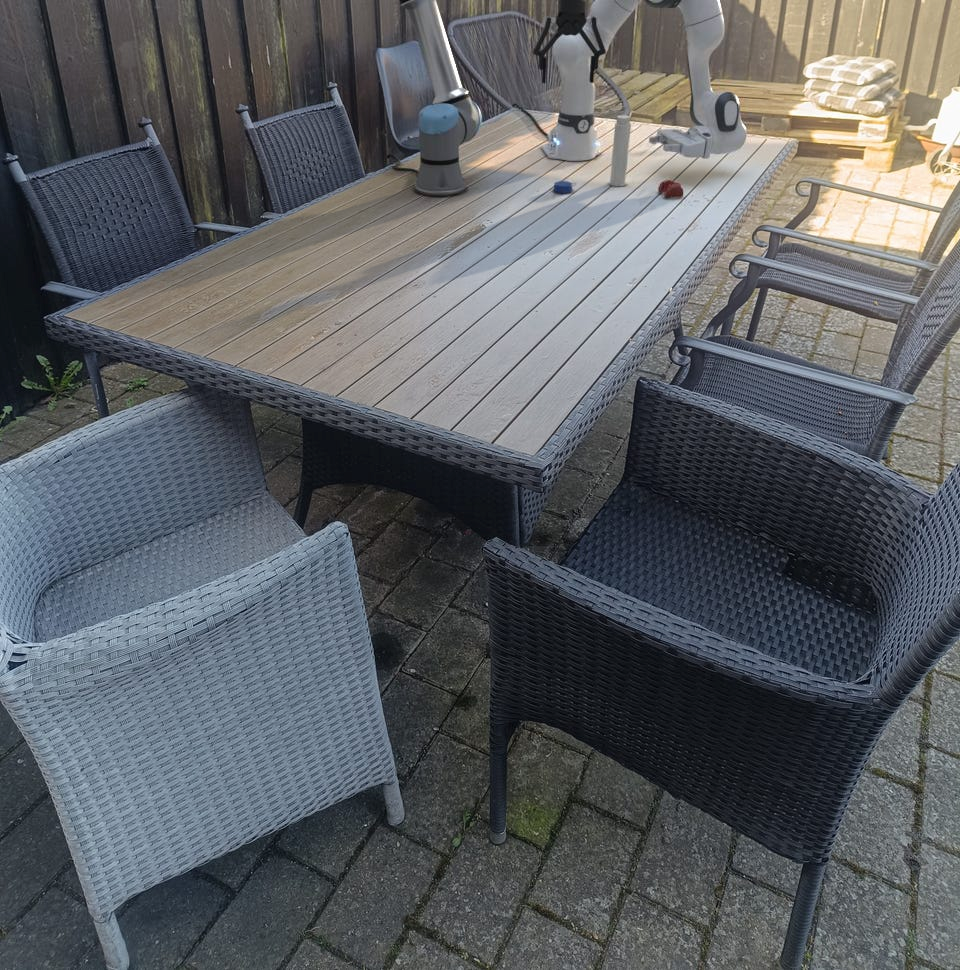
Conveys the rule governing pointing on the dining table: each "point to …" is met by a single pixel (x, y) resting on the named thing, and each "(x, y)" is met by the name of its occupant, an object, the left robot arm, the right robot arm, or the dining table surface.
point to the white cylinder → (620, 151)
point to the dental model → (670, 189)
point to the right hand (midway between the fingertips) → (657, 144)
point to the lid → (562, 187)
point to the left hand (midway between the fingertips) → (567, 82)
